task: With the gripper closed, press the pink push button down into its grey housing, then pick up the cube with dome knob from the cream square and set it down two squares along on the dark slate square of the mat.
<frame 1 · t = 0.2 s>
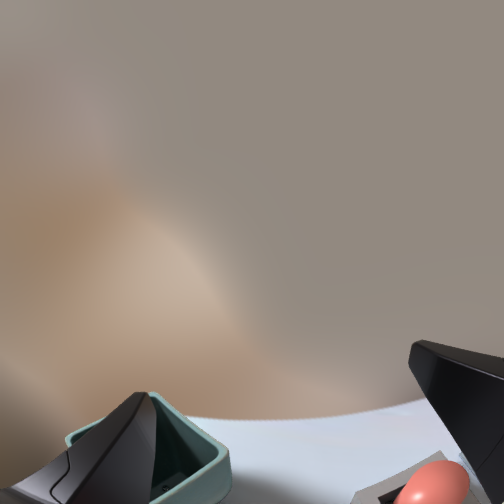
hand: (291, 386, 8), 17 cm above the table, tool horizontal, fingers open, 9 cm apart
flower pot: (180, 501, 15), on the table
pink push button: (429, 498, 8), point 5 cm above the table, slide at 0.0 cm
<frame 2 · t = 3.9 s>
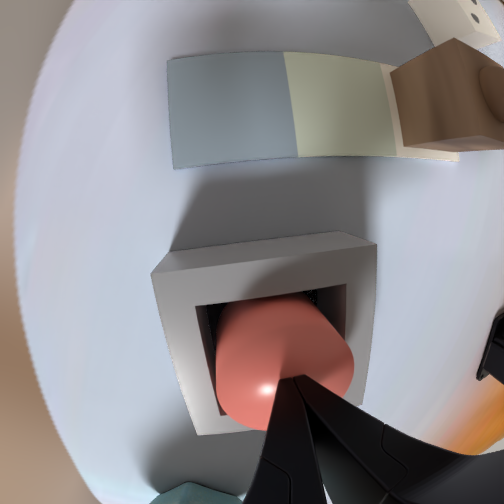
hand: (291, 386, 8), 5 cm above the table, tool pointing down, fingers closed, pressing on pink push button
die: (438, 28, 10), on the table
mat: (342, 103, 11), on the table
flower pot: (197, 494, 16), on the table
button housing: (264, 320, 12), on the table
pink push button: (277, 355, 9), point 3 cm above the table, slide at 1.7 cm, touching gripper
cube with dome knob: (425, 113, 11), resting on mat
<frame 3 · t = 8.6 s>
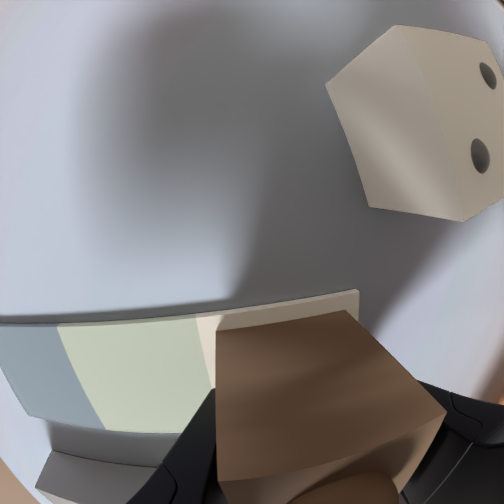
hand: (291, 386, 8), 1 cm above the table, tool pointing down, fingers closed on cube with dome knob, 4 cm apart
die: (395, 132, 8), on the table
mat: (141, 382, 8), on the table
button housing: (129, 492, 10), on the table
cube with dome knob: (286, 373, 8), resting on mat, touching gripper
when the fingers open (2 cm above the table, at t = 12.1 s): cube with dome knob drops 1 cm, resting on mat.
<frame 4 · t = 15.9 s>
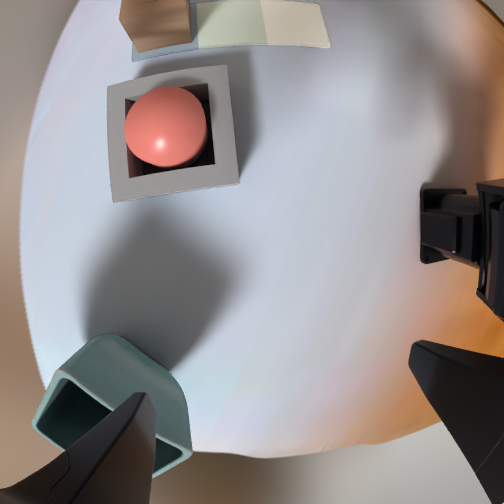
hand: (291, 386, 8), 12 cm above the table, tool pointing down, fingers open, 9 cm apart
mat: (230, 22, 15), on the table
flower pot: (131, 367, 20), on the table
button housing: (175, 138, 17), on the table
pink push button: (169, 130, 14), point 3 cm above the table, slide at 2.1 cm
cube with dome knob: (164, 28, 14), resting on mat
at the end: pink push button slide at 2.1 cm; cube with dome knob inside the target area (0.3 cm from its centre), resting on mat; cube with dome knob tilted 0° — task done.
